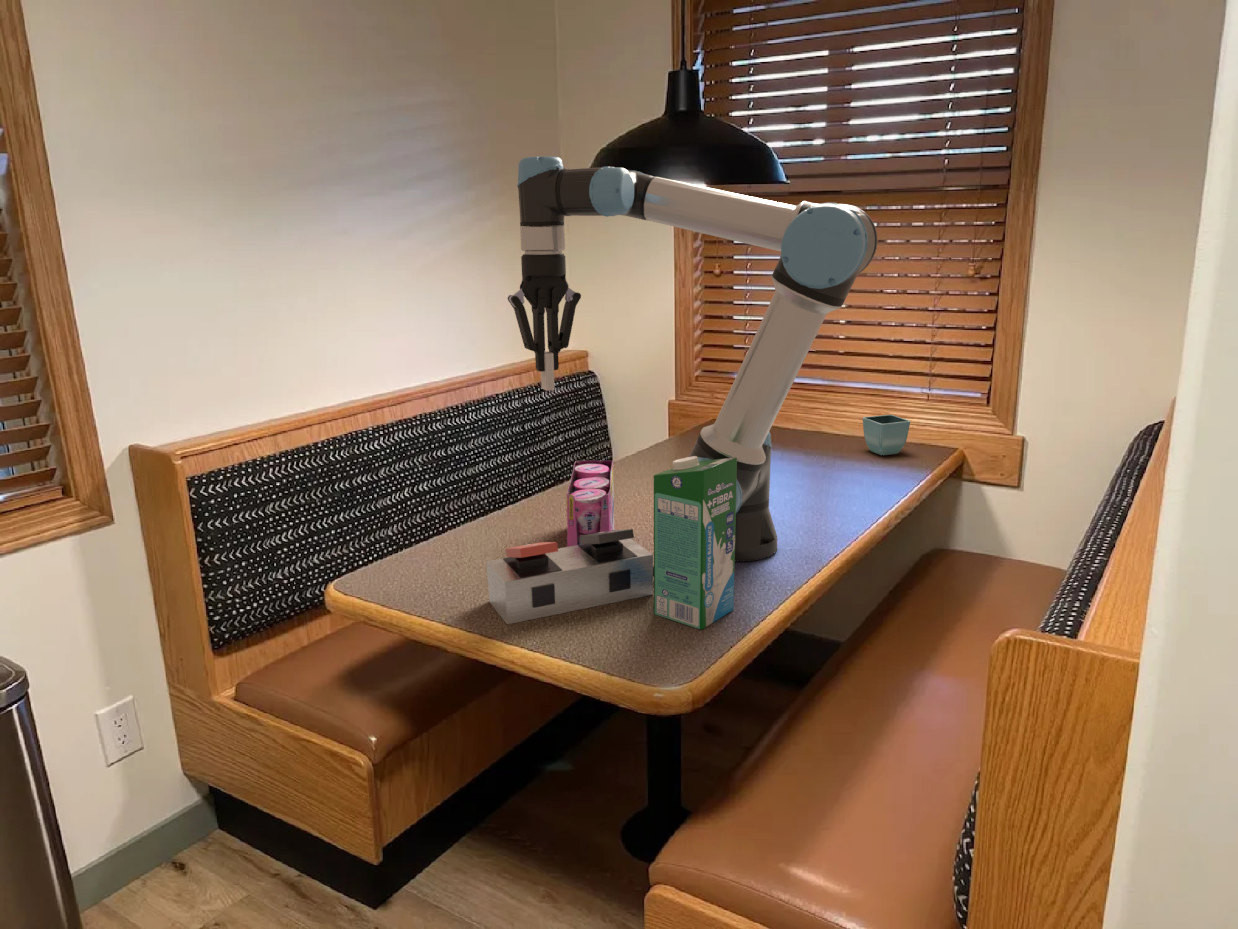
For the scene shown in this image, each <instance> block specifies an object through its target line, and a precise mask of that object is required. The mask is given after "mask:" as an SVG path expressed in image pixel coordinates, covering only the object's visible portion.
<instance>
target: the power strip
mask: <svg viewBox="0 0 1238 929" xmlns="http://www.w3.org/2000/svg"><path fill="white" fill-rule="evenodd" d="M486 570H487V571H486V574H487V588H488V589H487V590H488V593H487V594H488V603H489V604H490V605H491V606H492V607H493V608H494V610H495V612H497V614H498V615H499V616H500V618H501V619H502V620H503V621H504V623H505V624H506V625H512V624H515V623H522V622H527V621H530V620H536V619H541V618H546V617H550V616H554V615H560V614H565V613H569V612H574V611H579V610H580V611H581V610H585V609H588V608H594V607H599V606H604V605H608V604H614V603H620V602H623V601H627V600H632V599H637V598H643V597H647V596H651V595H653V596H654V553H651V552H650V551H649V550H648V549H646V548H645V547H643V546H641V544H639V542H636V541H635V540H633V538H630V539H624V540H619V541H613V542H607V543H602V544H581V545H575V546H570V547H567V546H565V547H560V548H559V547H558V551H557V552H551V553H546V554H540V555H534V556H529V557H523V558H516V557H507V556H506V557H503V558H496V559H490V560H486Z"/></svg>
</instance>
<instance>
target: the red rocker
mask: <svg viewBox="0 0 1238 929" xmlns="http://www.w3.org/2000/svg"><path fill="white" fill-rule="evenodd" d="M558 546H559V545H558V542H557V541H554V542H553V541H551V542H550V541H549V542H547V541H545V542H543V541H540V542H535V543H529V544H528V543H527V544H523V545H517V546H512V547H505V556H506V558H507V557H516V558H523V557H529V556H534V555H540V554H546V553H551V552H557V551H558V548H559V547H558Z"/></svg>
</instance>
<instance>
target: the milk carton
mask: <svg viewBox="0 0 1238 929" xmlns="http://www.w3.org/2000/svg"><path fill="white" fill-rule="evenodd" d="M736 479H737V458H736V457H735V458H725V459H715V460H706V461H698V457H697V456H693V457H689V456H688V457H687V456H686V457H683V458H678V459H675V460H673V461H672V467H671V468H669V469H667V470H663V471H661V472H659V473H655V474H653V567H654V577H653V615H655V616H658V617H661V618H665V619H667V620H671V621H674V622H676V623H680V624H682V625H686V626H689V627H691V628H695V629H697V630H699V631H700V630H701V631H702V630H704V629H705V628H707V627H708V626H710V625H712V624H713V623H715V622H717V621H718V620H720V619H722V618H723V617H724V616H726V615H728V614H729V613H731V612H732V611H734V609H735V608H734V607H735V605H734V604H735V600H734V599H735V598H734V597H735V562H736V561H735V523H736Z"/></svg>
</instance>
